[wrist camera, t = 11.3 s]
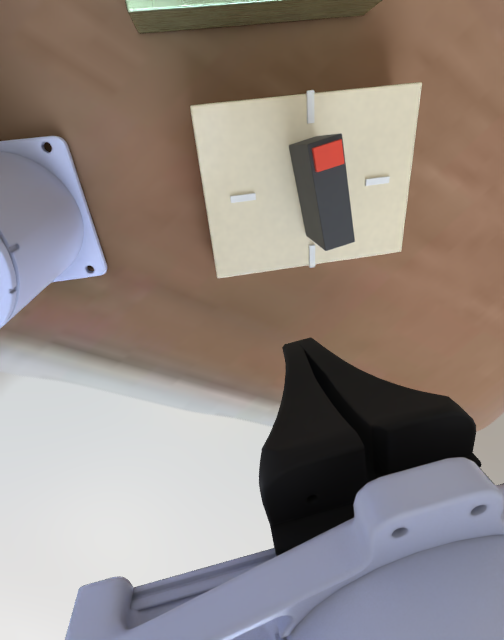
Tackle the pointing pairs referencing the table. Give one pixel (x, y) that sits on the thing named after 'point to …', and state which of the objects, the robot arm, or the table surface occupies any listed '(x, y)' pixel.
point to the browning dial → (323, 190)
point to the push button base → (235, 12)
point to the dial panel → (279, 181)
